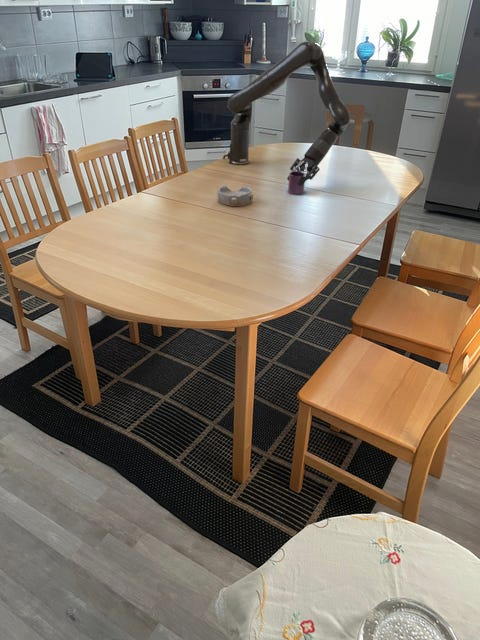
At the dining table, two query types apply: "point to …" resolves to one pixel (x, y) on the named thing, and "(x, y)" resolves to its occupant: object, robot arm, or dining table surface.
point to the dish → (235, 196)
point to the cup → (295, 183)
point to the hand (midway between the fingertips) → (293, 182)
